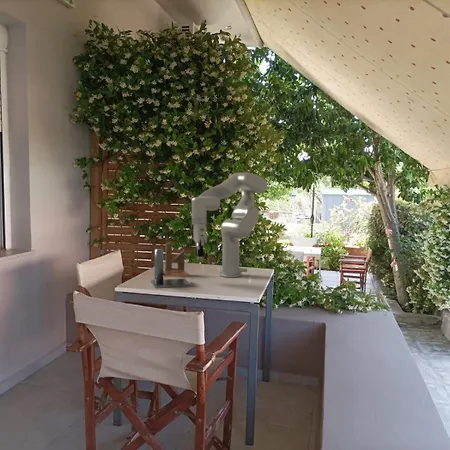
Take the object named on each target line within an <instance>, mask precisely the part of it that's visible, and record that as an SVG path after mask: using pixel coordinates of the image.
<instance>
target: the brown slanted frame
mask: <svg viewBox="0 0 450 450" xmlns="http://www.w3.org/2000/svg"><path fill="white" fill-rule="evenodd" d="M164 246H165V247H164V248H165V251H164V253H165V254H164V255H165V257H164V258H165V259H164V261H165V263H164V266H165V268H164V271H174V270H184V271H185V249H182V251H181V252H180V253H179V254H178V255H177V256H176V257H174V259H172V258H173V257H172V256H173V244H172V243H171V242H166V243H165V245H164ZM173 264H177V267H172V266H173Z"/></svg>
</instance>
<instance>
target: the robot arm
mask: <svg viewBox="0 0 450 450" xmlns="http://www.w3.org/2000/svg"><path fill="white" fill-rule="evenodd" d="M267 188H268V182H267V181H266V179H265V178H263V177H261V176H260V175H256V174H254V173H252V172H236V173H233V174H231V175H230V176H229V177H228V178H227V179H225V180H224V181H223V182H222V183H220V184H217V185H215V186H213V187H210V188H209V189H207V190H206V189H205V190H204V191H203V192H201V194H199V195H198V196H196V197H192V199H191V224H192V225H193V235H192V236H193V241H194V242H195V256H196V257H197V243H198V257H203V258H204V257H205V244H207V242H208V236H207V234H208V233H207V211H211V212H212V211H213V212H214V211H218V209H220V207H221V200H223V199H227V198H230V197H232V195H234V194H235V193H236V192H237V191H239V190H240V192H241V198H240V200H239V201H238V203H237V204H236V206H235V207H234V209H233V211H232V214H231V217H232V219H226V220H223V222H222V223H221V226H220V232H221V240H222V249H221V250H222V252H221V253H222V254H221V255H222V258H221V259H222V261H221V262H222V263H221V265H222V266H221V267H222V268H221V269H222V271H221V272H219V276H220V277H222V278H239V277H240V278H241V277H242V275H243V274H242V273H247V272H248V269H247V268H242V267H240V241H239V238H240V239H245V238H247V237H248V236H249V235H250V234H251V232H252V231H253V229H254V227H255V226H256V225H257V223H258V221H259V218H260V211H259V209H258V208H257V207H255V204H256V203H255V202H256V201H255V198H254V195H253V193H255V194H262V193H264V192H266V190H267ZM200 242H201V243H200ZM200 244H201V245H200Z"/></svg>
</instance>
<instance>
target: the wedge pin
mask: <svg viewBox="0 0 450 450" xmlns="http://www.w3.org/2000/svg"><path fill="white" fill-rule="evenodd" d="M200 243H201V242H200ZM200 245H201V244H200ZM203 258H204V257H198V243H197V256H196V261H200V262H201V261H203V260H204V259H203Z"/></svg>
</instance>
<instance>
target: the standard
mask: <svg viewBox="0 0 450 450" xmlns="http://www.w3.org/2000/svg"><path fill="white" fill-rule="evenodd" d="M185 276H186V277H188V276H189V273H188V271H186V270H185V269H184V270H174V271H165V270H164V249H163V248H155V249H154V280H150V284H152V286H153V287H154V288H155V289H163V288H179V287H180V288H181V287H192V283H191V282H189V281H188V280H187V279H186V278H171V277H185ZM164 277H165V278H166V279H164ZM169 277H170V278H171V279H170V278H169ZM167 278H169V279H167Z"/></svg>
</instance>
